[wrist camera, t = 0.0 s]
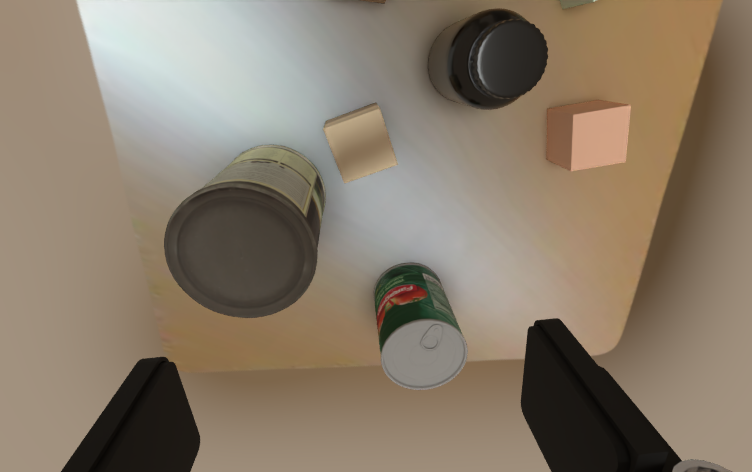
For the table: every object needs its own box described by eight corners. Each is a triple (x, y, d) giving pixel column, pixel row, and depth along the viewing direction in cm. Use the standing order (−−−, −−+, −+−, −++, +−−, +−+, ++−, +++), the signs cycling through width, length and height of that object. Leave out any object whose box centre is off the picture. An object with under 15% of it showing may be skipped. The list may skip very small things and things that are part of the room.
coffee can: (344, 213, 42) (343, 281, 29) (260, 256, 43) (223, 339, 30) (291, 123, 38) (262, 155, 25) (201, 174, 39) (129, 229, 27)
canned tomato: (426, 328, 48) (447, 398, 38) (364, 312, 47) (368, 381, 37) (452, 272, 46) (482, 332, 36) (387, 254, 44) (398, 311, 34)
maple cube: (326, 120, 38) (323, 128, 34) (375, 102, 38) (379, 108, 33) (344, 169, 40) (344, 183, 36) (392, 152, 40) (397, 164, 35)
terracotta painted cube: (546, 108, 39) (573, 114, 35) (597, 99, 39) (631, 104, 34) (546, 159, 41) (571, 171, 37) (594, 150, 41) (625, 162, 36)
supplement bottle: (513, 71, 37) (582, 75, 26) (451, 116, 39) (492, 138, 28) (476, 1, 35) (535, -25, 24) (411, 52, 36) (439, 48, 25)
